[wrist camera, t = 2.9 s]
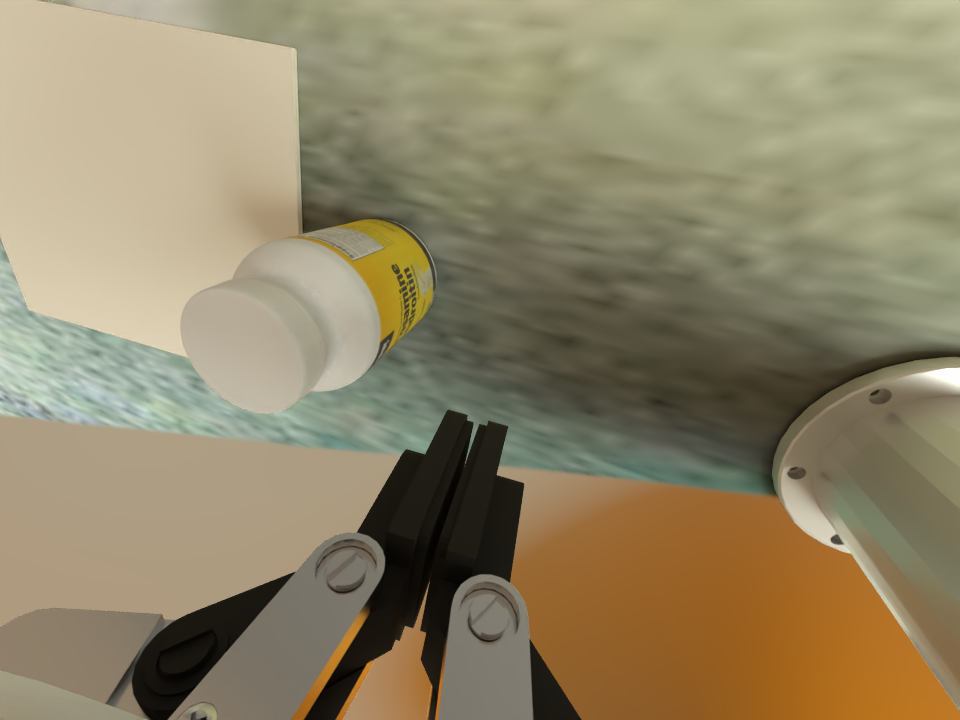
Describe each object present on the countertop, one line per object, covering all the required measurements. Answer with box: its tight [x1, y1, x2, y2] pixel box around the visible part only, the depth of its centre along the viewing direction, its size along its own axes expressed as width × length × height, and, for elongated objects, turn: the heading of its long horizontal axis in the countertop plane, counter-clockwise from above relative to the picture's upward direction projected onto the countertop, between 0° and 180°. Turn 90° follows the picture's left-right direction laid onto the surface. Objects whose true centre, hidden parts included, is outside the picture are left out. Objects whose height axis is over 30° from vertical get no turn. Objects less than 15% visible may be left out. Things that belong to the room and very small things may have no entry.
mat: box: [0, 0, 303, 357], centre depth 25 cm, size 24×20×1 cm
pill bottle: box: [180, 218, 437, 413], centre depth 18 cm, size 6×6×12 cm
